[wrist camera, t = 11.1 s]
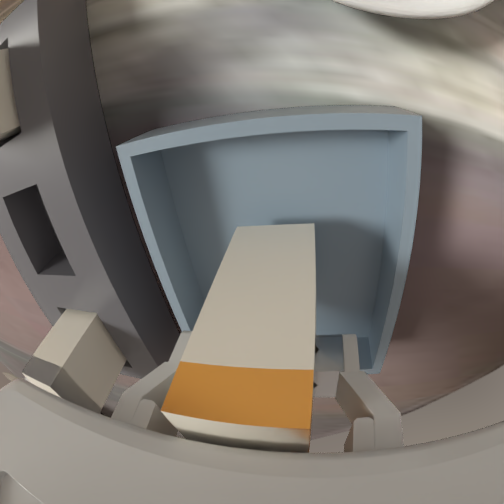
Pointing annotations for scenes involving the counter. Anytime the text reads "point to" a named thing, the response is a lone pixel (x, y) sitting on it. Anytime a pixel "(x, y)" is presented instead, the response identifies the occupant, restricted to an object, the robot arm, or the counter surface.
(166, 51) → the counter surface
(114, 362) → the block
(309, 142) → the tray
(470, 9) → the spoon rest
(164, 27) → the counter surface
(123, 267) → the fuse strip
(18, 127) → the block
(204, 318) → the orange cap fuse
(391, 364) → the counter surface
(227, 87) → the counter surface
